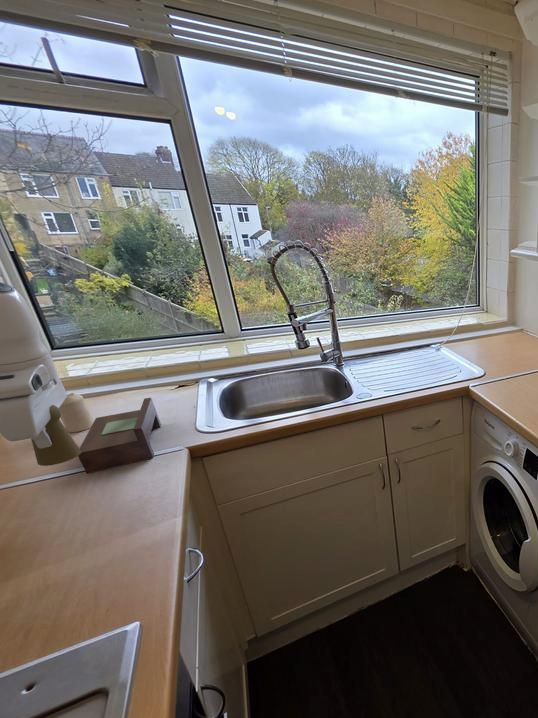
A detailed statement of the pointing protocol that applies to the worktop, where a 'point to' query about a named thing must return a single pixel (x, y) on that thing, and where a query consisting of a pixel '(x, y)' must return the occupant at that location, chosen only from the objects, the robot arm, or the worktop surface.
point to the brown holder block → (119, 439)
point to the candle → (75, 413)
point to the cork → (56, 442)
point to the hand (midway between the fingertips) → (51, 439)
